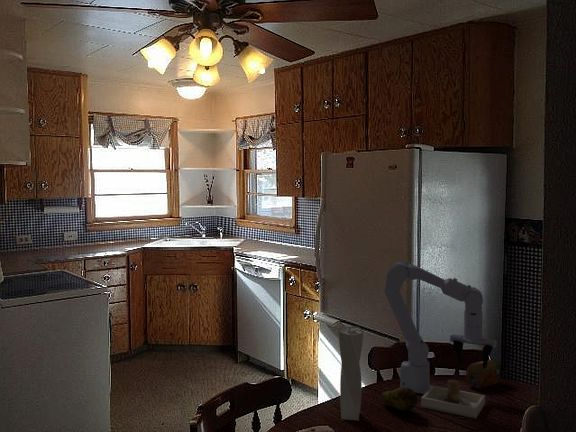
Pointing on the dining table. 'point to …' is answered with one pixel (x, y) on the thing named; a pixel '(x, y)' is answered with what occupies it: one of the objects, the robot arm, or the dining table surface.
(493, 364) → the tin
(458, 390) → the peg
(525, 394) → the dining table surface
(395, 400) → the potato
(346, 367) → the tall white vase
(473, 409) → the box
